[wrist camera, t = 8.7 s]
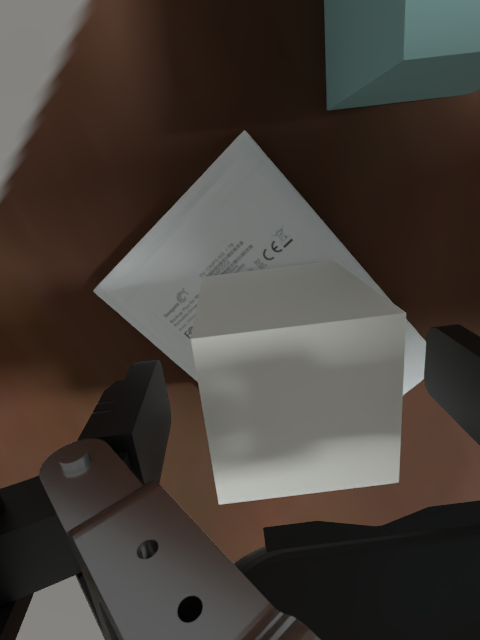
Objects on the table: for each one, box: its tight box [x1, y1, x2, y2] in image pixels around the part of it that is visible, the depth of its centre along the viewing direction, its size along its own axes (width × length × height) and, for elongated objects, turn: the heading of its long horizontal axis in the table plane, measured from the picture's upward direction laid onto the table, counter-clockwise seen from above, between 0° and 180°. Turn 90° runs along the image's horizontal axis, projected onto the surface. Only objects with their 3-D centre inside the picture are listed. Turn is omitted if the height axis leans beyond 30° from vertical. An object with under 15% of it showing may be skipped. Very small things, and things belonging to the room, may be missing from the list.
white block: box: [191, 261, 406, 505], centre depth 12 cm, size 5×5×6 cm
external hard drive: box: [93, 130, 426, 395], centre depth 16 cm, size 2×8×12 cm
